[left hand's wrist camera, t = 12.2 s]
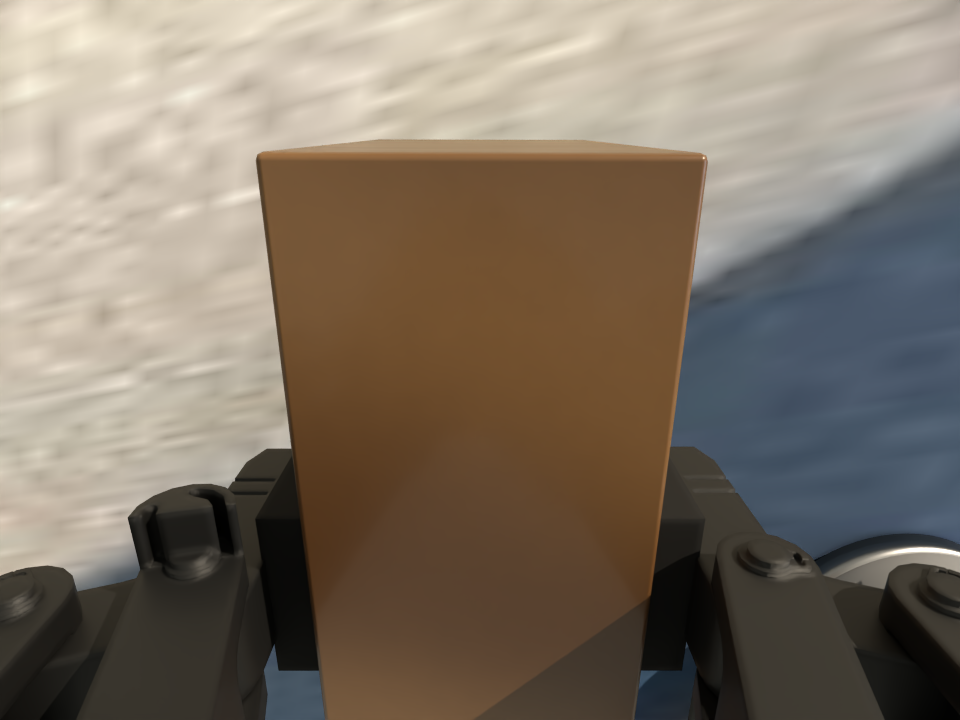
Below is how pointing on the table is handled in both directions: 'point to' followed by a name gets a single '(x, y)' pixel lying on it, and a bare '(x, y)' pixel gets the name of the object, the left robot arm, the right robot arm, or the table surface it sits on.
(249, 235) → the table surface
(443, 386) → the beam
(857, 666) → the left robot arm
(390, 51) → the table surface
